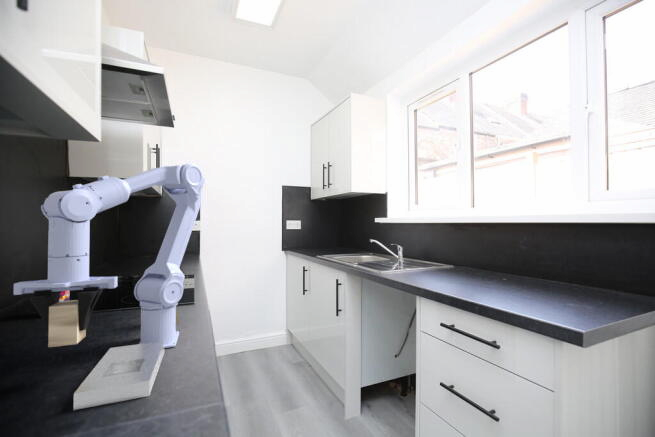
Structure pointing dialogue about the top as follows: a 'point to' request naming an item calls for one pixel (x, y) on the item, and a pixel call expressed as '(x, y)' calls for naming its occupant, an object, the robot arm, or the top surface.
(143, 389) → the board with rectangular recess
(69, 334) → the peg
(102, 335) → the top surface
